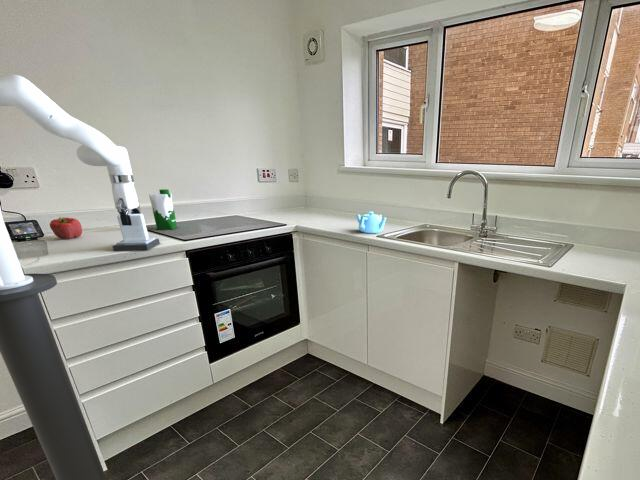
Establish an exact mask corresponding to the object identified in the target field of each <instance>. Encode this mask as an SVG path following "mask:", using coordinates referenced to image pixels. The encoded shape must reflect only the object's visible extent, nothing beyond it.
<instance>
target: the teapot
mask: <svg viewBox="0 0 640 480" xmlns="http://www.w3.org/2000/svg"><path fill="white" fill-rule="evenodd" d="M355 216H356V219H357V222H358V223H357V224H358V229H359V231H360V232H361V233H364V234H379V233H381V232H382V231H384V227H385V224H386V221H387V217H382V216H383V215H382V214H374V211H368V213H367V214H364V215H363V216H361V215H360V214H355Z"/></svg>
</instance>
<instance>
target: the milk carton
mask: <svg viewBox="0 0 640 480" xmlns="http://www.w3.org/2000/svg"><path fill="white" fill-rule="evenodd" d="M172 195H173V194H172V193H171V192H170V190H169V189H167V188H165V189H164V188H163V189H159V192H154V193H150V194H149V193H148V197H149V200H150V205H151V209H152V213H153V217H154V222H155V226H156V230H157V231H173V230H175V229H177V228H178V225H177V218H176V213H175V209H174V204H173V197H172Z"/></svg>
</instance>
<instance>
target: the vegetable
mask: <svg viewBox="0 0 640 480" xmlns="http://www.w3.org/2000/svg"><path fill="white" fill-rule="evenodd" d="M82 226H83V225H82V224H81V222H80V221H79V220H78V219H76V218H74V217H62V216H59V217H58V218H54V219H52V220H51V221H50V222H49V228H50V230H51V231H52V232H53V234H54V235H55V236H56V237H57V238H59V239H66V240H70V239H73V238H77V239H78V238H80V237H81V236H82V234H83V227H82Z"/></svg>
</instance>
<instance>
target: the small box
mask: <svg viewBox="0 0 640 480" xmlns="http://www.w3.org/2000/svg"><path fill="white" fill-rule="evenodd" d="M128 215H130V218H131V223H132V225H127V226H123V225H122V222H121V218H120V215H119V214H118V215H117V216H116V219H117V222H118V224H119V225H118V226H119V228H120V229H119V230H120V233H121V236H122V240H124V242H129V241H147V239H148V238H150V237H149V232H148V229H147V224H146V221H145V215H144V213H141V214H131V213H128Z"/></svg>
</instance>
